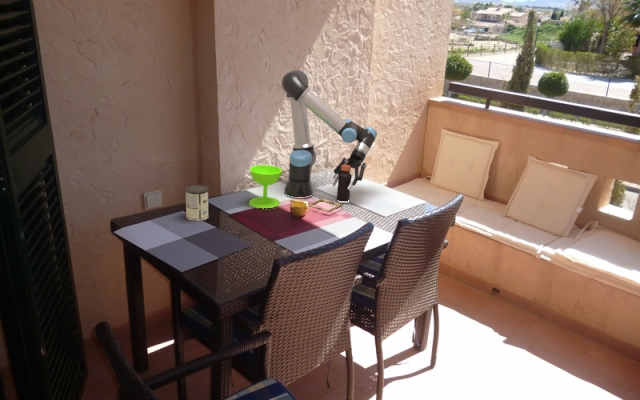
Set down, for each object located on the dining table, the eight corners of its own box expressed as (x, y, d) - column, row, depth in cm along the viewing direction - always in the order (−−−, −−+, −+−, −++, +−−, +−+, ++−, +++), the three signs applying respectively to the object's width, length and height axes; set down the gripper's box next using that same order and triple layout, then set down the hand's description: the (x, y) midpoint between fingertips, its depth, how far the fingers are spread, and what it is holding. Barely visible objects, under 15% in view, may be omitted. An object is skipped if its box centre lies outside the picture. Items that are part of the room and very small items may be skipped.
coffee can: (190, 211, 244) (189, 183, 239) (211, 214, 243) (211, 185, 238) (182, 219, 234) (182, 190, 229) (204, 222, 233) (204, 192, 229)
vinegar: (334, 200, 274) (337, 164, 268) (346, 199, 277) (349, 163, 270) (339, 204, 269) (342, 167, 262) (351, 203, 271) (354, 167, 264)
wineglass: (278, 210, 254) (280, 175, 248) (246, 207, 254) (247, 173, 248) (281, 199, 269) (283, 166, 263) (251, 197, 269) (252, 164, 263)
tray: (307, 209, 258) (307, 204, 258) (321, 202, 269) (321, 198, 268) (328, 215, 252) (329, 211, 251) (342, 209, 262) (342, 204, 262)
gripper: (379, 161, 272) (361, 196, 264) (344, 152, 283) (326, 186, 276) (375, 153, 266) (356, 188, 259) (340, 144, 277) (321, 178, 270)
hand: (340, 187), depth 267 cm, fingers open, 9 cm apart
